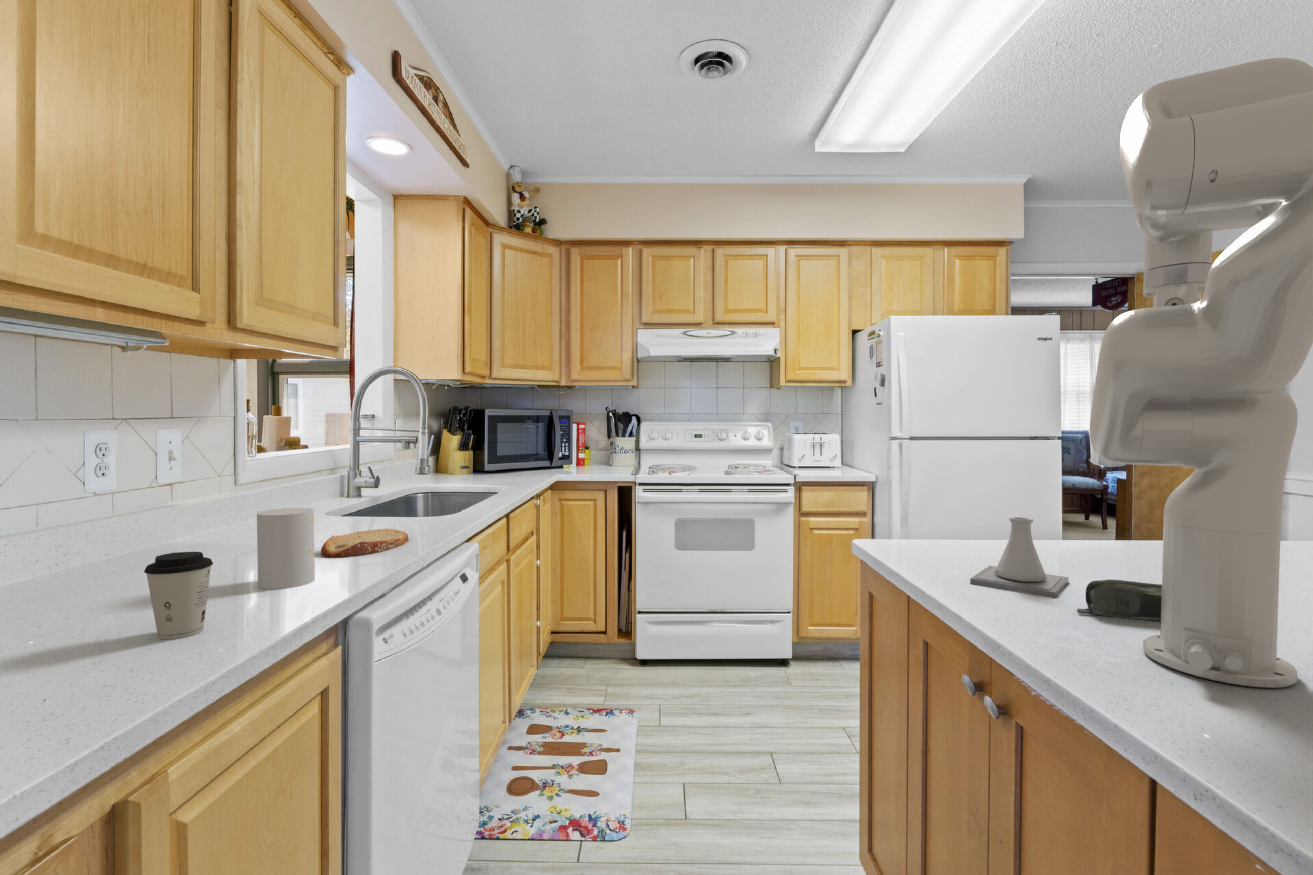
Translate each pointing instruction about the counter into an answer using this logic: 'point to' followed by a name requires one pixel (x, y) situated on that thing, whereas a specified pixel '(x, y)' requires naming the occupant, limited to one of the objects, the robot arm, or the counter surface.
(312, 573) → the cup
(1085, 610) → the dark green rounded block
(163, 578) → the coffee cup
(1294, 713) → the counter surface
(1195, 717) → the counter surface
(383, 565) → the counter surface
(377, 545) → the slice of bread
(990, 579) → the grey square plate
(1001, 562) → the flask
